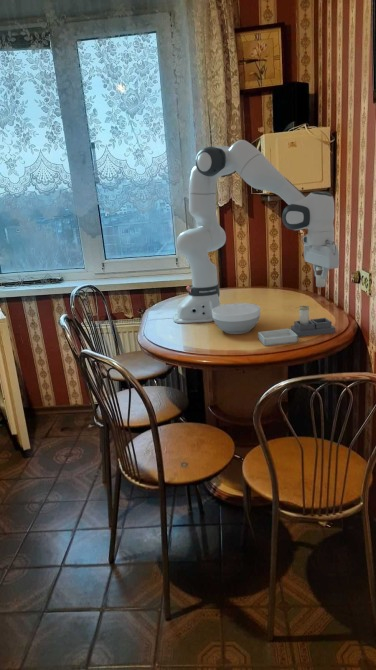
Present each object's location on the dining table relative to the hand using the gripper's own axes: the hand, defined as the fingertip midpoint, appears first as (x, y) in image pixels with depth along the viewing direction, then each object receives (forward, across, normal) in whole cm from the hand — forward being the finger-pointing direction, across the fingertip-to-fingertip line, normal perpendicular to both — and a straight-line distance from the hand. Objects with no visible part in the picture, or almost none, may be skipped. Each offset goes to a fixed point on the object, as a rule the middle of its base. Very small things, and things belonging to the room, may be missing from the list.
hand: (320, 277), depth 169 cm
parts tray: (+20, -4, +18) cm, 28 cm away
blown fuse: (+3, 0, 0) cm, 3 cm away
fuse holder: (+20, 0, +3) cm, 21 cm away
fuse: (+18, 0, +6) cm, 19 cm away
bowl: (+21, +15, +28) cm, 38 cm away
